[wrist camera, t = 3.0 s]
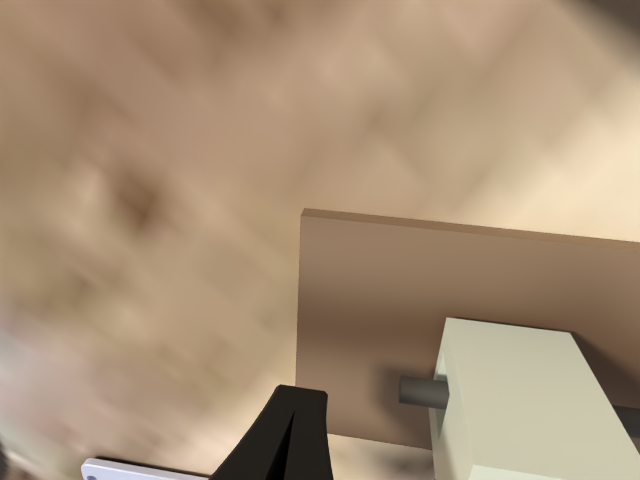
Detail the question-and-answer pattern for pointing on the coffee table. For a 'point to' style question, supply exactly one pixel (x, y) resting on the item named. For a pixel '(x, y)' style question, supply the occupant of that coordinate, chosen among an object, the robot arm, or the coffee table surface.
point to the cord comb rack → (450, 312)
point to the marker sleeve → (523, 409)
